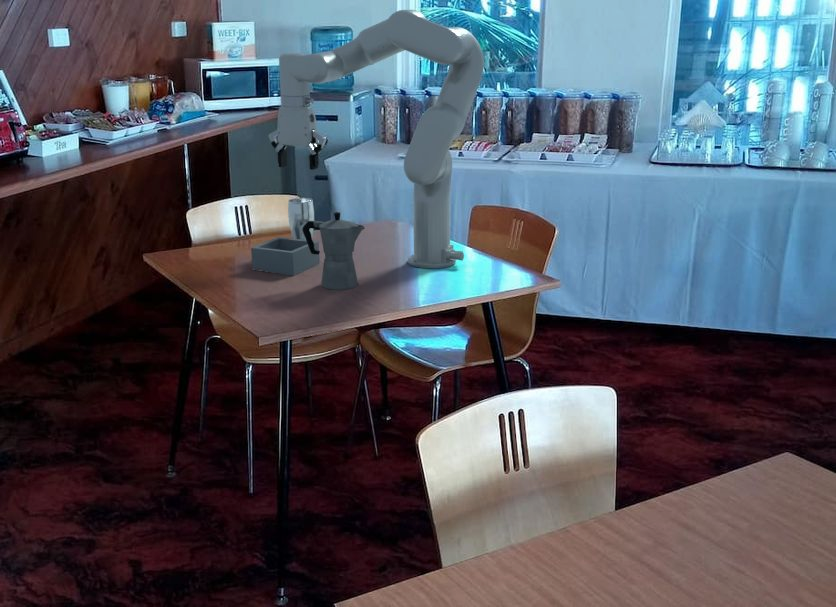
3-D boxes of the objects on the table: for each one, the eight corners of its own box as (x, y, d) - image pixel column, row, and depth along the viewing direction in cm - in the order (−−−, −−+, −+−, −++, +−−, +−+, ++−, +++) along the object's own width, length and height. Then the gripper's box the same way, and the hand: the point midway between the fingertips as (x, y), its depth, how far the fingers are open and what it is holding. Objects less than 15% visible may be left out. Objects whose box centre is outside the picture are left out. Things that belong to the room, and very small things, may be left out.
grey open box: (319, 263, 241) (318, 241, 239) (294, 275, 230) (292, 252, 229) (279, 258, 246) (278, 237, 244) (252, 270, 235) (251, 247, 234)
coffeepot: (370, 280, 226) (369, 209, 220) (360, 291, 217) (358, 217, 212) (311, 277, 229) (308, 206, 223) (298, 288, 220) (295, 215, 215)
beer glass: (314, 257, 247) (311, 202, 243) (288, 257, 248) (285, 202, 243) (317, 250, 254) (315, 197, 249) (292, 250, 254) (289, 197, 250)
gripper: (331, 102, 238) (333, 167, 243) (275, 99, 245) (278, 163, 250) (316, 105, 231) (319, 172, 237) (259, 102, 238) (263, 167, 244)
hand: (298, 167), depth 243 cm, fingers open, 9 cm apart
